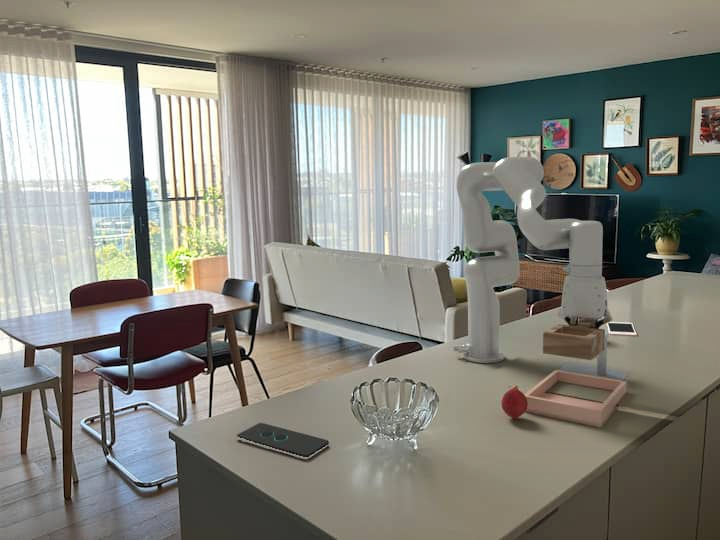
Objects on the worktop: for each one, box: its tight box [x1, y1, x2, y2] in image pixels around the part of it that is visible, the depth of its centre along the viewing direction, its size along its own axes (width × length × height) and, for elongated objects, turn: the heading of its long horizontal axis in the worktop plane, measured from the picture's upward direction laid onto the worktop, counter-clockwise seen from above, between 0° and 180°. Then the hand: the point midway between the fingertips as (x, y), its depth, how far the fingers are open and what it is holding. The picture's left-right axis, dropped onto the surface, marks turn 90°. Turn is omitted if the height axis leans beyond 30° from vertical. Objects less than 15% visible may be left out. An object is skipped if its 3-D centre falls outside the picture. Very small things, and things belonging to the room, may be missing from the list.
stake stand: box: [558, 331, 631, 381], centre depth 163 cm, size 17×13×12 cm
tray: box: [523, 369, 628, 429], centre depth 145 cm, size 23×18×4 cm
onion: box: [501, 385, 528, 420], centre depth 136 cm, size 6×6×8 cm
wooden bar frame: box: [542, 323, 606, 361], centre depth 143 cm, size 16×11×5 cm
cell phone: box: [606, 321, 638, 337], centre depth 213 cm, size 9×18×1 cm, turn 160°
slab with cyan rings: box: [236, 422, 330, 457], centre depth 128 cm, size 8×2×20 cm
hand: (583, 343), depth 147 cm, fingers closed on wooden bar frame, 3 cm apart
